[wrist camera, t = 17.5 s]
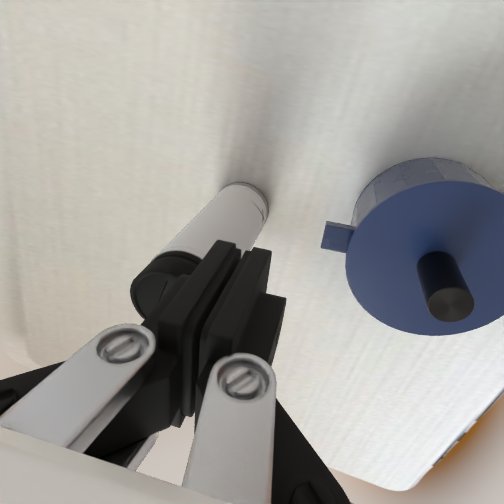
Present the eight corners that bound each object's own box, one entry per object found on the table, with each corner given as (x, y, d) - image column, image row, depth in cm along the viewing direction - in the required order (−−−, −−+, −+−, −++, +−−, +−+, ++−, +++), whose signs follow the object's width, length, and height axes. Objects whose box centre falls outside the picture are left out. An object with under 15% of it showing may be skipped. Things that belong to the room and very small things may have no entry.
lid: (369, 161, 29) (372, 188, 23) (573, 195, 27) (632, 234, 21) (330, 307, 36) (326, 354, 30) (488, 343, 34) (515, 402, 28)
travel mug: (279, 196, 41) (223, 299, 23) (254, 241, 44) (189, 360, 27) (230, 169, 40) (138, 252, 23) (208, 216, 44) (114, 319, 27)
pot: (342, 142, 36) (339, 164, 29) (552, 175, 33) (607, 210, 26) (316, 259, 43) (308, 301, 36) (489, 296, 40) (519, 349, 33)
